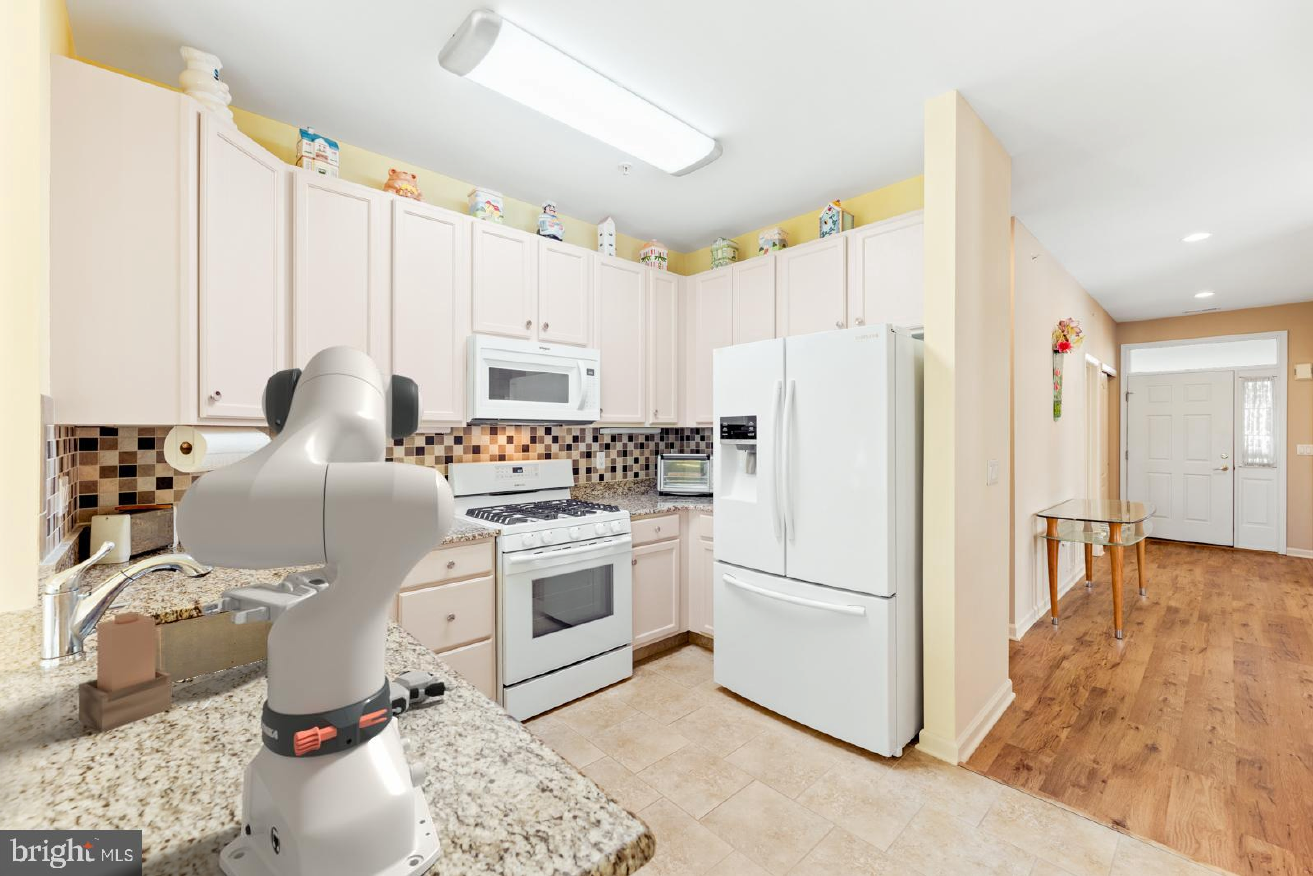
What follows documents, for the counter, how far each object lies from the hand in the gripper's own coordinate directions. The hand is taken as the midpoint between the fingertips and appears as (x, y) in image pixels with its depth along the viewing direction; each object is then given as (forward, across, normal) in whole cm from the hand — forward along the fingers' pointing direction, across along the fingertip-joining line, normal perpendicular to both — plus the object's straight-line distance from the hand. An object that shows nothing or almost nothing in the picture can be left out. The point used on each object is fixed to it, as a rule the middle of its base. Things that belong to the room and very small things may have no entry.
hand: (218, 615), depth 95 cm
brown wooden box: (+12, 0, +12) cm, 17 cm away
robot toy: (-8, +35, +12) cm, 37 cm away
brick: (+12, 0, +8) cm, 14 cm away
